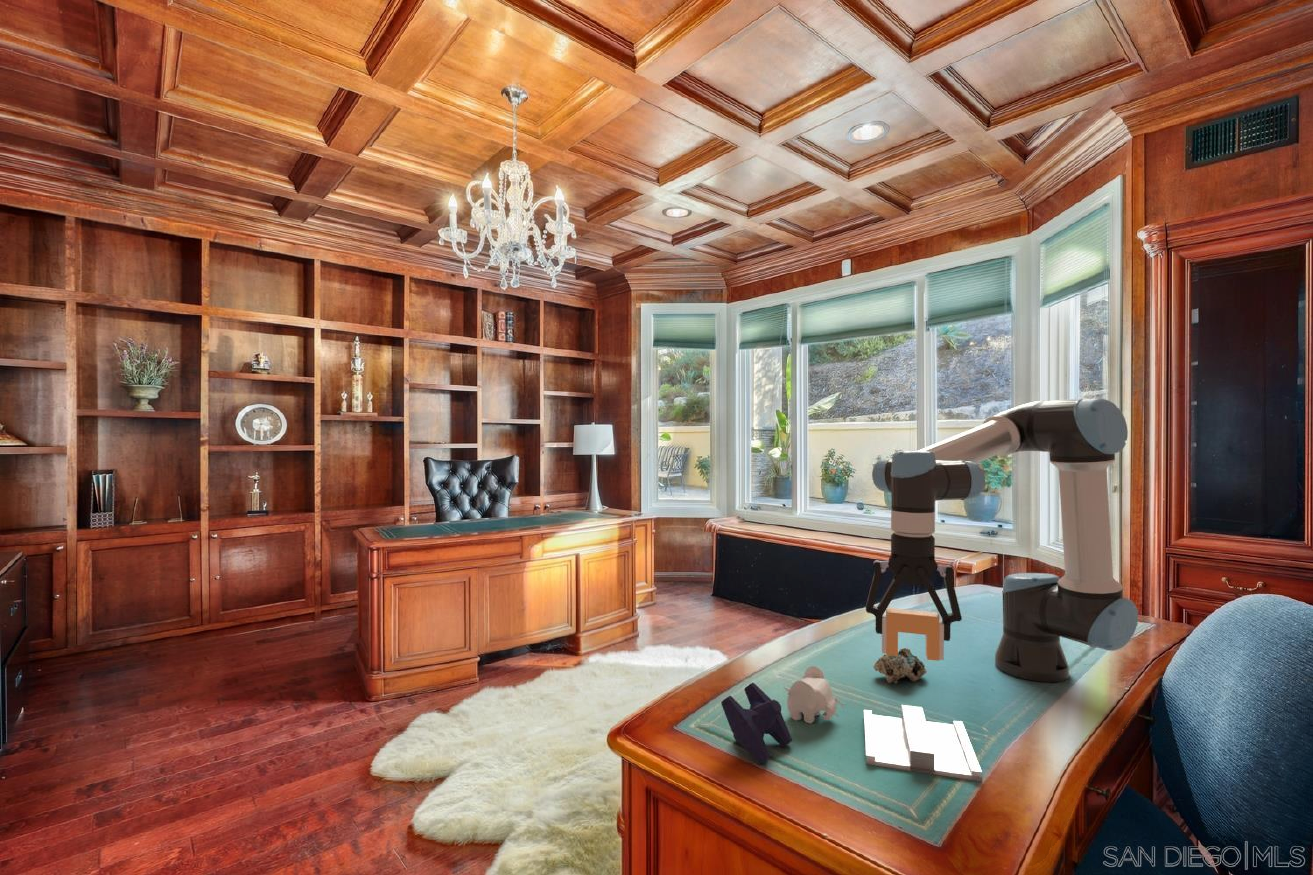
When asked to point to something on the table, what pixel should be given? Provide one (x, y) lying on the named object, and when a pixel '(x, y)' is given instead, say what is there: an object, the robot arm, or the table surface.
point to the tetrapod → (756, 722)
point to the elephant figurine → (811, 697)
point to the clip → (912, 629)
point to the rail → (919, 745)
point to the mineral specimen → (900, 666)
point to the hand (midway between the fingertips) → (911, 653)
